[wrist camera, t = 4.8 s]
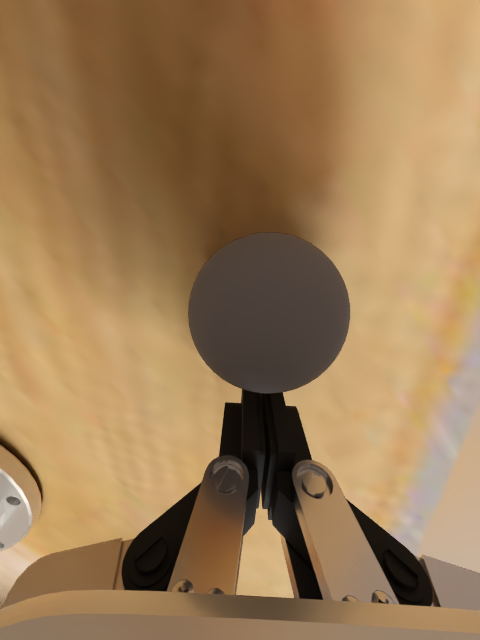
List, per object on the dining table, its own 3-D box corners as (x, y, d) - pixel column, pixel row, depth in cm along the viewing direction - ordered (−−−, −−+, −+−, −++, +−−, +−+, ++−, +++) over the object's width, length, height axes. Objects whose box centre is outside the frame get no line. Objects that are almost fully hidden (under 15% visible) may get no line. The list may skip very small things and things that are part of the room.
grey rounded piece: (166, 413, 5) (194, 174, 5) (185, 372, 10) (199, 254, 11) (390, 423, 6) (399, 215, 6) (300, 380, 11) (309, 270, 12)
